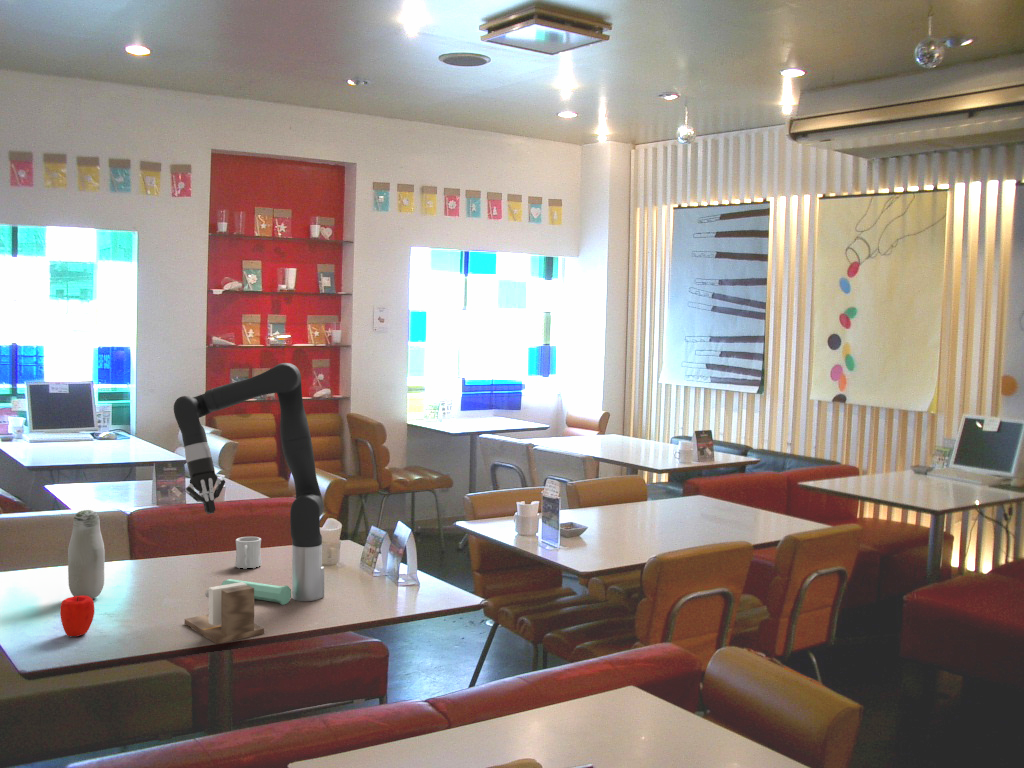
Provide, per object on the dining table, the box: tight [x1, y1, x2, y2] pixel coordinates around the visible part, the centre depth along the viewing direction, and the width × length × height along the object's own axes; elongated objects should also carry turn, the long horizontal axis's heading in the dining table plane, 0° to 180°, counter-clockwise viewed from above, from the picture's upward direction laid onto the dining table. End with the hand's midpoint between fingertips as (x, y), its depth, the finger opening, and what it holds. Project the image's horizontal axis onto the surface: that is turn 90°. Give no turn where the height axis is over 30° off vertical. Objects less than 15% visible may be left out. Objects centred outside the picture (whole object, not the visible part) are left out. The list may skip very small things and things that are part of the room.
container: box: [220, 578, 292, 606], centre depth 306 cm, size 6×6×25 cm
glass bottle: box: [67, 509, 106, 600], centre depth 301 cm, size 10×10×28 cm
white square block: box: [208, 582, 247, 625], centre depth 272 cm, size 10×3×10 cm, turn 131°
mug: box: [234, 536, 262, 570], centre depth 344 cm, size 12×9×10 cm
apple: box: [59, 596, 95, 637], centre depth 267 cm, size 9×9×11 cm
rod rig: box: [184, 585, 265, 644], centre depth 274 cm, size 14×22×14 cm, turn 41°
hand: (211, 513), depth 298 cm, fingers closed
